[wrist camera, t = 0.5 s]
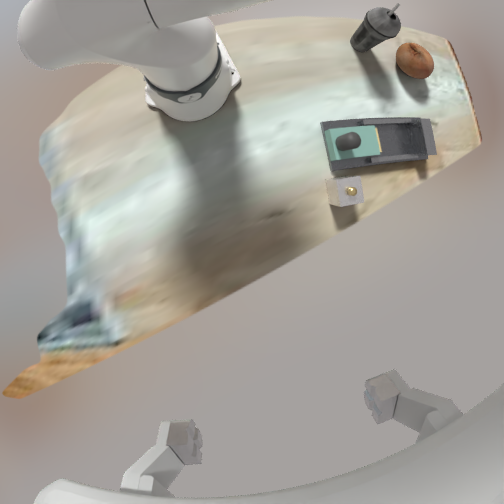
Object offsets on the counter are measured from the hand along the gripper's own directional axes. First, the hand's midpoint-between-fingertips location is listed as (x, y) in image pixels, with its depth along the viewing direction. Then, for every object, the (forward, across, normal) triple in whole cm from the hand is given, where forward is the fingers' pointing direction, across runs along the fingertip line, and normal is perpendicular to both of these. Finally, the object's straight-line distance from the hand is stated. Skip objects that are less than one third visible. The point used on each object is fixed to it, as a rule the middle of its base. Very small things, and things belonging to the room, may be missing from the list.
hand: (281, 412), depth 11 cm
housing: (+44, -21, -4) cm, 49 cm away
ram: (+43, -25, -13) cm, 51 cm away
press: (+44, -33, -13) cm, 56 cm away
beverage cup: (+44, -34, -37) cm, 67 cm away
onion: (+44, -47, -32) cm, 72 cm away
